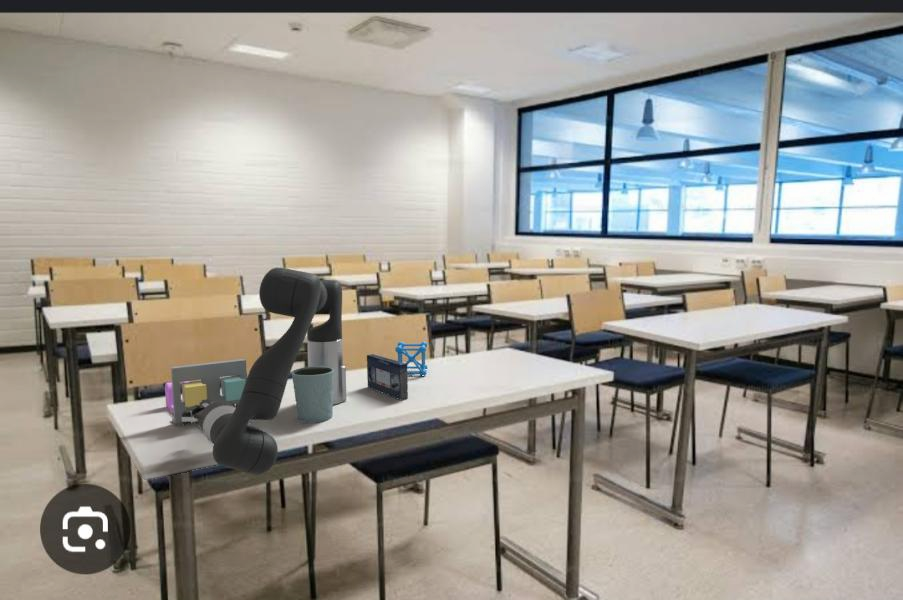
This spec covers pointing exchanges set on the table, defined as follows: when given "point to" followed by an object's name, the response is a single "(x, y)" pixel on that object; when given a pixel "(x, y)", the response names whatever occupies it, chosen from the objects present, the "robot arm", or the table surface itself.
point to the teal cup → (313, 393)
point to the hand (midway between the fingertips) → (205, 403)
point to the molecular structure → (413, 356)
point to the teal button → (232, 387)
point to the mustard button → (193, 393)
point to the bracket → (170, 395)
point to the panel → (204, 381)
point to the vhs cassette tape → (387, 376)
